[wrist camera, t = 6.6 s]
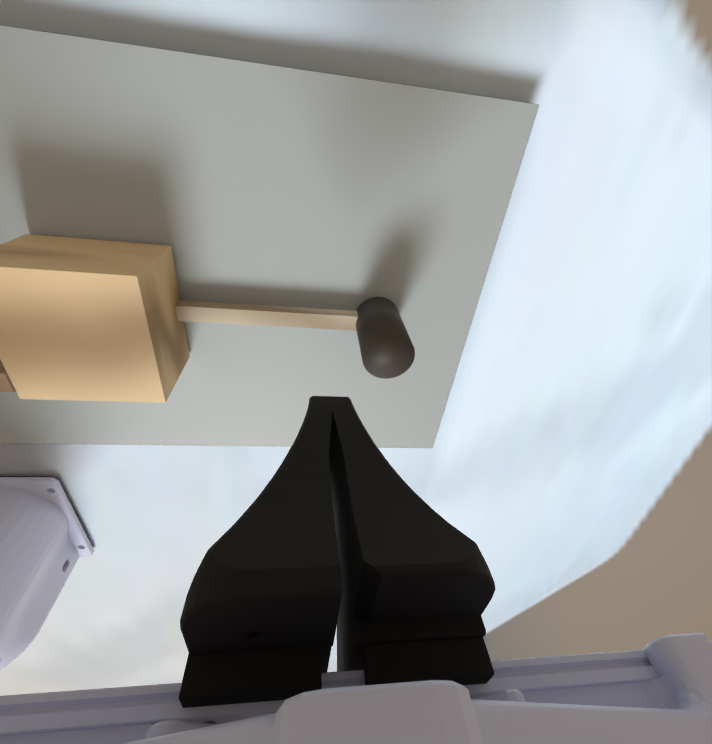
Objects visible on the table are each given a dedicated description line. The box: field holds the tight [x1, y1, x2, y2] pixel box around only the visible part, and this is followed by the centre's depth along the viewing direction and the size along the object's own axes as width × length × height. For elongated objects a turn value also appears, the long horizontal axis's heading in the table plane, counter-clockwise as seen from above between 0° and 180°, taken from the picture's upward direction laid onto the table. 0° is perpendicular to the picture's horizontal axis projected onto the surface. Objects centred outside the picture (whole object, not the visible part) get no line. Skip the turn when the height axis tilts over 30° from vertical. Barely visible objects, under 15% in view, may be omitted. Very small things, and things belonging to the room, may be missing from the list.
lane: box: [0, 25, 539, 448], centre depth 18 cm, size 20×37×2 cm, turn 84°
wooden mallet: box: [0, 234, 415, 403], centre depth 17 cm, size 6×17×4 cm, turn 84°
